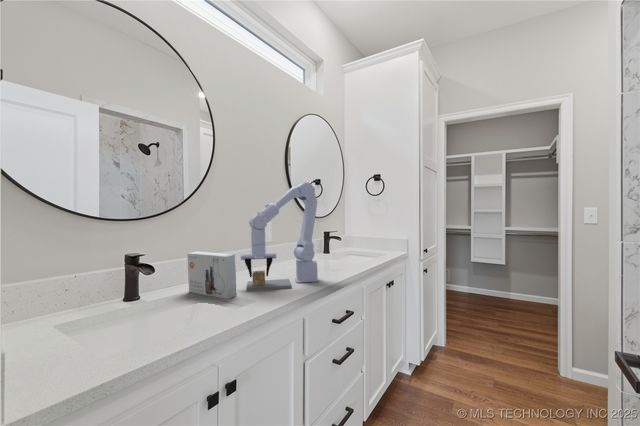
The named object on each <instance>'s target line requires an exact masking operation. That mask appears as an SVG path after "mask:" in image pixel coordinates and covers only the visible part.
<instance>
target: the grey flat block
mask: <svg viewBox="0 0 640 426" xmlns="http://www.w3.org/2000/svg"><path fill="white" fill-rule="evenodd" d="M257 271H258V272H257V273H261V271H262V270H257ZM246 283H247V284H246V287H245V288H246V289H245V291H246V293H247V292H259V291H274V290H287V289H289V290H290V289H293V286H292V283H291V280H290V279H289V278H285V279H284V278H282V279H281V278H279V279H265V285H259V286H253V280H249V281H247V282H246Z"/></svg>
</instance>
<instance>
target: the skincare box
mask: <svg viewBox="0 0 640 426" xmlns="http://www.w3.org/2000/svg"><path fill="white" fill-rule="evenodd" d="M186 254H187V275H188V276H187V277H188V292H189V293H193V294H198V295H203V296H209V297H215V298H220V299H226V300H227V299H231V298H233V297H236V296H237V294H238V293H237V274H236V254H234V253H224V252H210V251H193V252H187V253H186Z"/></svg>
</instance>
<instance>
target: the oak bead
mask: <svg viewBox="0 0 640 426" xmlns="http://www.w3.org/2000/svg"><path fill="white" fill-rule="evenodd" d="M258 271H259V270H254V271H252V281H253V286H259V285H265V280H266V270H260V271H261V273H257V272H258Z"/></svg>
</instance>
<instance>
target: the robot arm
mask: <svg viewBox="0 0 640 426" xmlns="http://www.w3.org/2000/svg"><path fill="white" fill-rule="evenodd" d="M316 196H317V195H316V188H315V186H314V185H312V183H310V182H308V181H305V182H303V183H297V184H294V186H291V188H289V189H288V190H287V191H286V192H285V193H284V194H283V195H282V196H281V197H280V198H279V199H277V201H275V202H273V203H272V202H270V203H266V204H264V208H263V209H262V210H260V211H258V212H256V215H253V216H252V217H251V218H250V219H249V222H248V224H249V226H250V228H251V230H250V231H251V233H250V234H251V236H250V237H251V239H250V240H251V244H250V245H251V253H250V254H249V253H248V254H241V255H240V261H244V263H245V266H246V267H247V270H248V274H249V278H253V276H252V273H253V271H252V260H265V261H266V270H265V277H269V272H270V268H271V265H272V264H273V260H274V259H275V260H276V259H277V253H275V252H274V253H267V252H266V250H267V249H266V227H267V225H268V223H270V222H271V221H272V220H273V219H275V217H276V216H278V215H279V213H280V210H281V208H283V207H284V206H285V205H286V204H288V203H289V202H290V201H292V200H293V199H295V198H297V199H299V200H300V201H301V202H302V203H303V204H304V211H303V217H302V223H301V230H300V237H299V239H298V241H297V243H296V246H295V248H294V250H293V255H294V257H295V258H296V259H295V266H296V267H295V268H296V269H295V271H296V276H295V278H294V280H295V282H296V283H297V284H298V283H312V282H314V283H315V282H318V281H319V280H318V262H317V260H313V259H314V258H315V250H314V248H315V247H314V242H313V241H312V239H313V236H314V235H313V234H314V228H315V227H314V226H315V221H316V215H317V207H318V200H317V197H316Z"/></svg>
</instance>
